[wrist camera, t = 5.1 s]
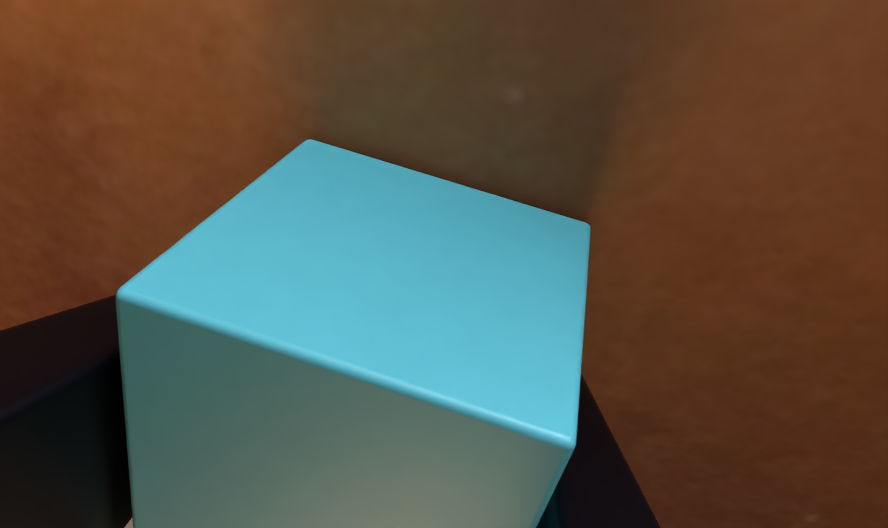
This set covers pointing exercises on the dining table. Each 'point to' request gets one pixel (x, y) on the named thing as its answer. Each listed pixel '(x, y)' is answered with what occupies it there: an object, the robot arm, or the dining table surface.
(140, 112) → the dining table surface
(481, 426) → the block
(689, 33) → the dining table surface
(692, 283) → the dining table surface
